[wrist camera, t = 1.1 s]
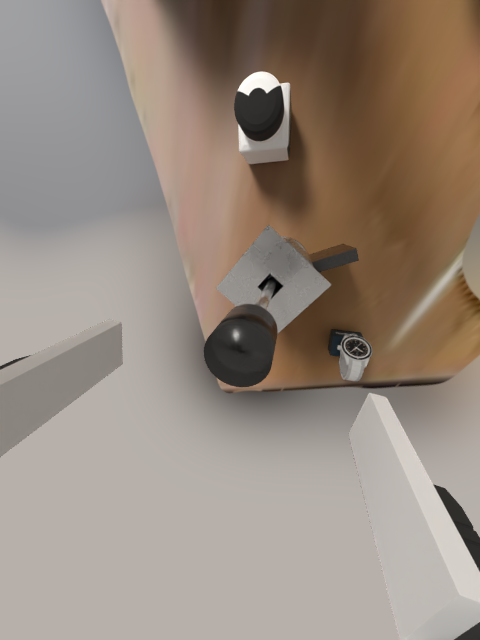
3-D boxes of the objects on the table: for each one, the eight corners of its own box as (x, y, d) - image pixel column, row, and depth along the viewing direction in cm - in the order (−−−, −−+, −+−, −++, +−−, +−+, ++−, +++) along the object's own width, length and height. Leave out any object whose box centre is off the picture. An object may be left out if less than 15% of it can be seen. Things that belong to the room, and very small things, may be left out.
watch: (362, 323, 46) (380, 349, 36) (354, 358, 49) (368, 392, 39) (332, 320, 47) (342, 345, 37) (326, 355, 50) (333, 386, 40)
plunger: (272, 235, 32) (226, 246, 11) (317, 277, 33) (352, 363, 12) (234, 280, 36) (144, 353, 15) (275, 317, 36) (244, 438, 15)
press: (297, 201, 41) (296, 184, 25) (345, 248, 42) (374, 259, 26) (240, 268, 47) (212, 288, 32) (283, 307, 48) (276, 345, 32)
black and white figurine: (289, 160, 39) (286, 134, 28) (248, 164, 41) (229, 141, 30) (291, 107, 36) (289, 54, 25) (247, 113, 38) (226, 67, 27)
